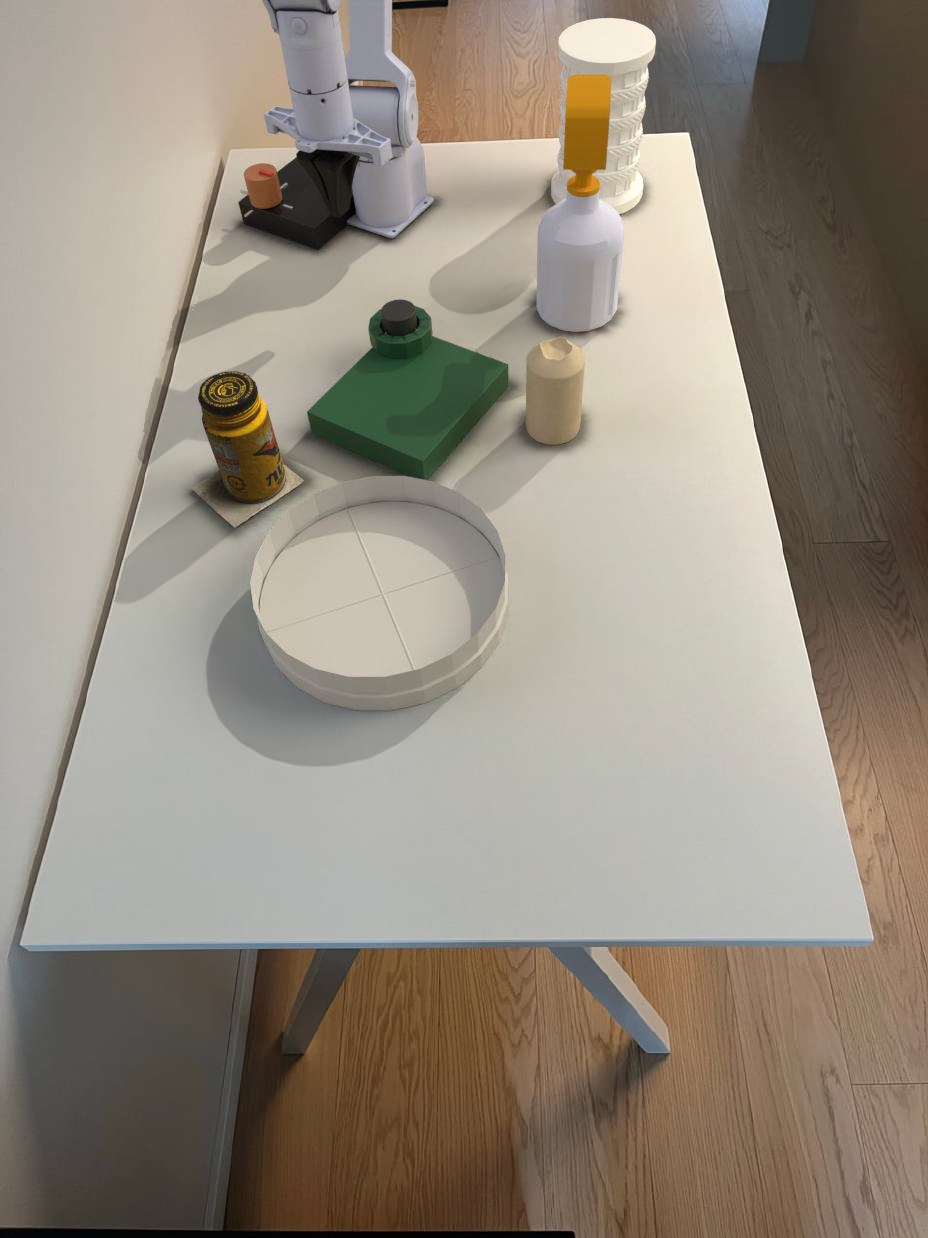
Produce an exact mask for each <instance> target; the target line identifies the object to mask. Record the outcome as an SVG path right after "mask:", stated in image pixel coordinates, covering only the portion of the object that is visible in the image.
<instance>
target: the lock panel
mask: <svg viewBox="0 0 928 1238" xmlns="http://www.w3.org/2000/svg"><path fill="white" fill-rule="evenodd" d="M277 174H278V179H279V184H280V188H281V193H282V201H281V202H280V203H279V204H278V205H276V206H274V207H272V208H267V209H260V208H256V207H254V206H252V205H251V203H250V199H249V195H248V191H246V190H243V189H241V190H240V191H239V192H240V193H241V194H244V195H245V196H244V197H243V198H241V199H240V200H238V202H237V204H238V207H239V211H240V214H241V215H240V216H241V219H242V222H243V225H246V226H249V227H251V228H255V229H257V230H260V231H263V232H265V233H268V234H271V235H275V236H277V237H280V238H283V239H285V240H288V241H291V242H294V243H297V244H300V245H302V246H305V247H309V248H311V249H314V250H317V251H319V250H320V249H322V247H324V246H325V245H326V244H327V243H328V242H330V241H331V240H332V239H333V238H335V236H336V235H338V234H339V233H340V232H341V231H342V230H344V229H345V228H346V227H347V226H348V225H349V224H347V220H348V219H350V218H351V217H352V216H353V215H354V214H355V213H356V210H355V203H354V197H353V190H351V200H350V209H349V210H348V211H347V212H346V213H345V214H343V215H342V216H341V217H336V216H333V215H330V214H329V212H328V210H327V207H326V205H325V203H324V201H323V199H322V197H321V195H320V193H319V191H318V189H317V187H316V185H315V183H314V182H313V180H312V179H311V177H310V176H309V174H308V173H307V172H306V170H305V169H304V168H303V167H302V166H301V165H300V164H299V162H298V161H297V157H296V156H295V158H293V159H292V160H291V161H289V162H288V163H287V164H286V165H284V166H283V167H281V168H280V169H279V170H277Z"/></svg>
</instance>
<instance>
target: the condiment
mask: <svg viewBox="0 0 928 1238" xmlns="http://www.w3.org/2000/svg"><path fill="white" fill-rule="evenodd" d="M197 400H198V403H199V405H200V409H201V414H202V415H201V424H202V427H203V430H204V432H205V435H206V437H207V439H208V440H207V441H208V443H209V446H210V448H211V451H212V454H213V457H214V459H215V463H216V465H217V468H218V470H217V471H216V472H215V473H213V474H211V475H210V476H209V477H207V478H205V479H202V480H201V481H199V482H198V483H196V484H195V485H193V486H192V487H191V489H192V491H194V492H195V493H196V494H197V495H198V496H199V497H200V498H201V499H202V500H203V501H205V503H206V504H207V505H208V506H209V507H211V508H212V510H214V511H215V512H216V513H217V514H218V515H220V517H222V519H224V520H225V522H228V524H230V525H231V527H233V528H234V529H235V528H237V527H238V526H240V525H241V524H242V523H244V522H247V521H248V520H249V519H250V518H251V517H254V516H255V515H257V513H259V512H260V511H262V510H264V509H265V508H268V506H270V505H272V504H273V503H275V502H277V501H278V500H280V499H281V498H282V497H284V496H285V495H287V494H288V493H290V492H292V490H294V489H296V488H297V487H298V486H300V485H301V484H302V483H304V481H305V480H304V479H303V478H302V477H300V476H299V475H298V474H297V473H296V472H294V471H293V470H292V469H290V468H289V467H288V466H287V465H286V464H284V461H283V458H282V453H281V451H280V447H279V444H278V442H277V438H276V434H275V431H274V428H273V423H272V420H271V416H270V413H269V410H268V406H267V403H266V402H265V401H264V399H263V398H262V397H261V395H260V393H259V390H258V385H257V383H256V381H255V380H254V379H253V378H252V377H251V376H250V375H249V374H247V373H245V372H241V371H237V370H234V371H233V370H231V371H230V370H229V371H222V372H219V373H216V374H213V375H211V376H209V377H208V378H206V379H205V380H204V381H203V382H202V383H201V385H200V386H199V390H198V397H197Z"/></svg>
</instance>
